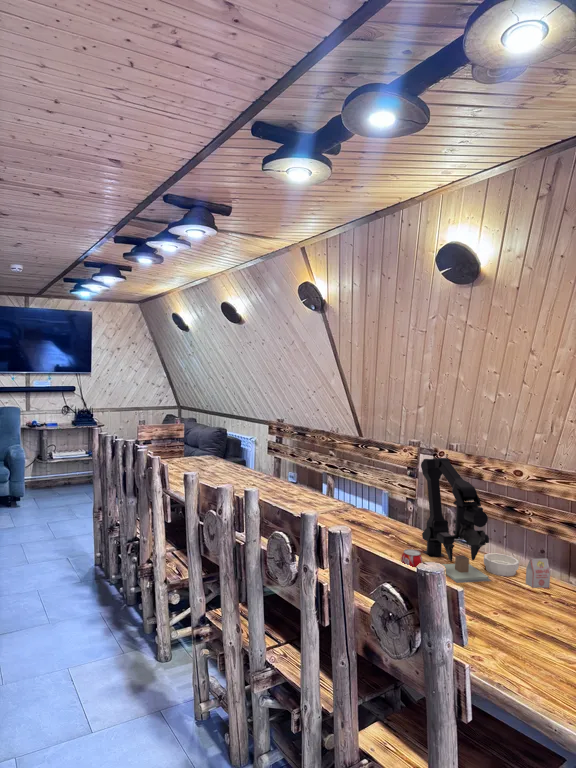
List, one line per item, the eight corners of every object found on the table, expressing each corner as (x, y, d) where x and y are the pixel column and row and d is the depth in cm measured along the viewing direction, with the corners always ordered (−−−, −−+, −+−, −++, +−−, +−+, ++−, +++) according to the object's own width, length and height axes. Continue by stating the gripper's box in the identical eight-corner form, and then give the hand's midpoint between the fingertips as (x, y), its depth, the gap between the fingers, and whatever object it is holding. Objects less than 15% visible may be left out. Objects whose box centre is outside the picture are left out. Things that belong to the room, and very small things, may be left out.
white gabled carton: (525, 584, 183) (526, 557, 183) (542, 584, 184) (543, 556, 184) (532, 589, 179) (533, 560, 179) (549, 588, 180) (550, 560, 180)
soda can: (421, 591, 173) (423, 556, 173) (400, 589, 175) (401, 554, 175) (420, 583, 180) (422, 549, 180) (400, 581, 182) (401, 547, 182)
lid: (436, 566, 196) (436, 551, 196) (467, 565, 199) (468, 550, 199) (454, 580, 183) (455, 564, 183) (488, 578, 186) (489, 563, 185)
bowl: (477, 566, 199) (477, 553, 199) (504, 565, 201) (505, 552, 201) (496, 578, 187) (496, 565, 187) (524, 577, 190) (525, 564, 190)
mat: (433, 566, 197) (433, 564, 197) (465, 564, 201) (465, 563, 201) (456, 584, 181) (456, 582, 181) (491, 582, 184) (491, 580, 184)
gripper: (452, 526, 180) (450, 570, 181) (499, 524, 185) (497, 567, 185) (436, 517, 191) (435, 558, 192) (481, 516, 195) (479, 556, 196)
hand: (461, 560), depth 191 cm, fingers open, 9 cm apart
